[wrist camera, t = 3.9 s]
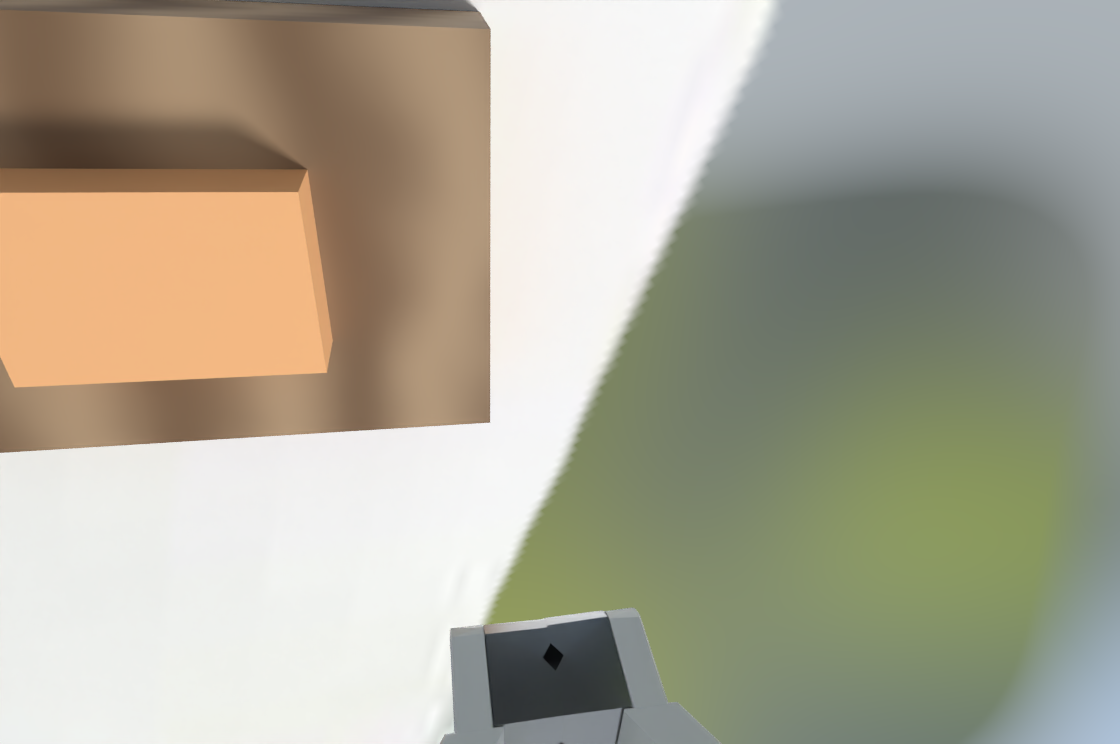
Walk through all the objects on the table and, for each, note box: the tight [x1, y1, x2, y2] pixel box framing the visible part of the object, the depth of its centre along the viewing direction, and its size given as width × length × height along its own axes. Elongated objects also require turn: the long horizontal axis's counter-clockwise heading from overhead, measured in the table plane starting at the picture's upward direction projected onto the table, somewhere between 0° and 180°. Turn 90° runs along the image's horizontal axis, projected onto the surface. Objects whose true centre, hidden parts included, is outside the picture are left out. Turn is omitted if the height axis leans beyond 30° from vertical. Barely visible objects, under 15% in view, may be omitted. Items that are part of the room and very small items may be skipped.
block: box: [0, 168, 333, 388], centre depth 20 cm, size 9×6×2 cm, turn 86°
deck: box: [0, 0, 490, 453], centre depth 23 cm, size 22×14×4 cm, turn 86°
